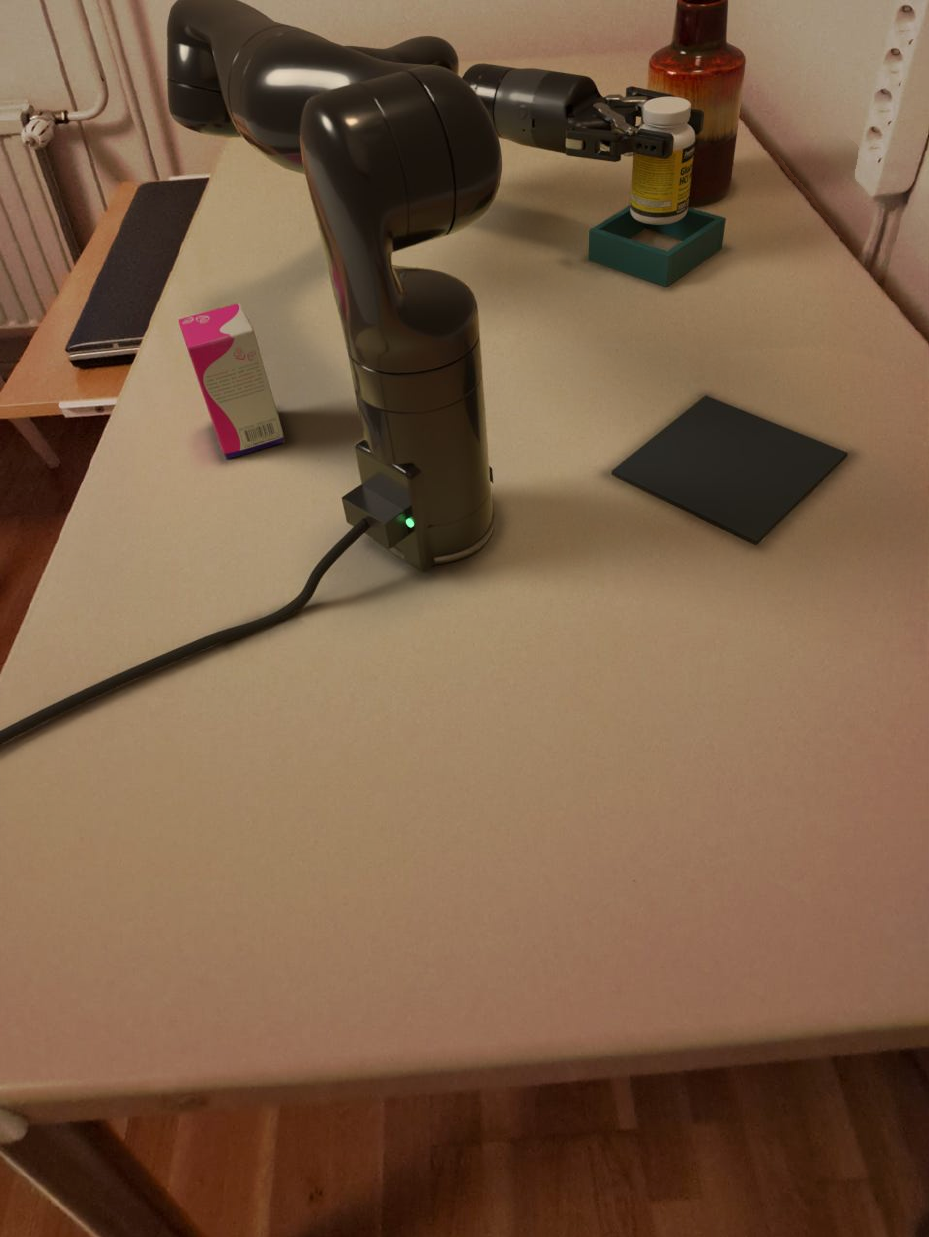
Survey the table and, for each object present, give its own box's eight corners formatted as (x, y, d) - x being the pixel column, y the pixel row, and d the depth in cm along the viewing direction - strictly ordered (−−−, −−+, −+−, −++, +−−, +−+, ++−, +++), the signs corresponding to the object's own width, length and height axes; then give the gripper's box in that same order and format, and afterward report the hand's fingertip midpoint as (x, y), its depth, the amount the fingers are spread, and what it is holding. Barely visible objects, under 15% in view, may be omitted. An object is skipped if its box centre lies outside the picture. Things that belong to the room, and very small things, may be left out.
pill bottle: (686, 227, 99) (697, 115, 91) (627, 226, 100) (633, 116, 92) (688, 202, 103) (700, 92, 95) (632, 201, 104) (638, 93, 96)
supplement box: (271, 410, 90) (241, 299, 82) (286, 443, 86) (256, 331, 78) (212, 426, 89) (176, 316, 81) (224, 461, 85) (187, 349, 77)
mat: (756, 544, 73) (756, 541, 72) (611, 474, 80) (611, 470, 79) (846, 456, 79) (848, 452, 79) (705, 398, 86) (705, 394, 86)
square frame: (666, 287, 100) (669, 255, 98) (588, 260, 106) (588, 229, 103) (722, 248, 105) (726, 217, 102) (644, 224, 110) (646, 194, 108)
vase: (739, 175, 117) (764, -16, 103) (717, 212, 111) (740, 14, 96) (655, 166, 121) (668, -19, 106) (629, 202, 115) (639, 10, 100)
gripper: (579, 124, 108) (714, 148, 101) (510, 170, 101) (650, 200, 93) (581, 51, 103) (723, 71, 95) (508, 94, 95) (656, 119, 88)
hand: (686, 134), depth 94 cm, fingers closed on pill bottle, 6 cm apart
